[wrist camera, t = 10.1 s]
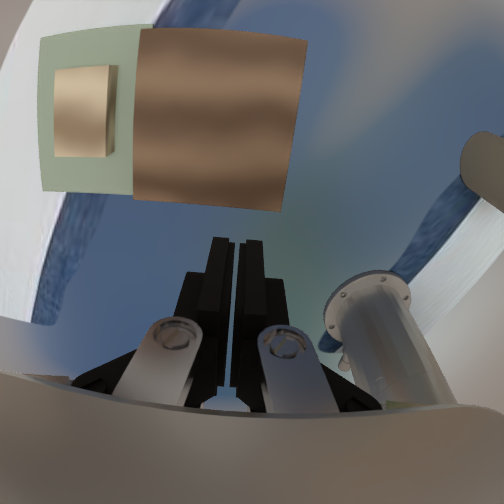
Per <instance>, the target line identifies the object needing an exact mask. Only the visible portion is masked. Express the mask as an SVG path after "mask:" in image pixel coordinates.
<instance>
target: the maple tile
mask: <svg viewBox="0 0 504 504" xmlns="http://www.w3.org/2000/svg"><path fill="white" fill-rule="evenodd" d="M118 67H119V65H104V66H90V67H79V68H69V69H60V70H55V82H54V152H55V157H107V156H108V155H110V154H111V153H113V152H114V150H115V111H116V93H117V79H118Z"/></svg>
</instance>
